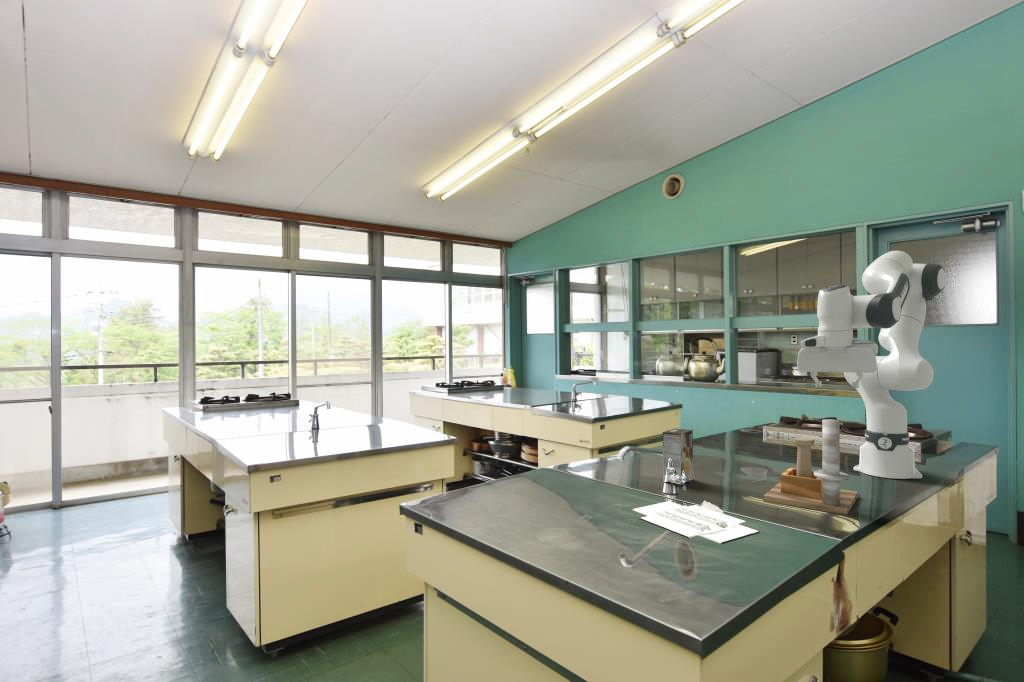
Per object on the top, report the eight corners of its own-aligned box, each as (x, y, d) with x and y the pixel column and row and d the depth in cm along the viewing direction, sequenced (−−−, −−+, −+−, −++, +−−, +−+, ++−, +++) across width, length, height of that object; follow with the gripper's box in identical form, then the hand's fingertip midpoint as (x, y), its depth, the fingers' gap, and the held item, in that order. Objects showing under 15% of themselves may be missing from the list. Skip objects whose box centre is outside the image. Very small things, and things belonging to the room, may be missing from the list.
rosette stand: (781, 485, 167) (780, 409, 167) (857, 497, 155) (857, 414, 155) (762, 501, 151) (762, 417, 151) (846, 516, 139) (846, 423, 138)
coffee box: (674, 476, 179) (674, 427, 179) (693, 479, 175) (693, 429, 175) (662, 482, 172) (662, 431, 172) (681, 485, 168) (681, 433, 168)
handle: (790, 491, 156) (790, 438, 156) (800, 487, 160) (800, 436, 160) (808, 495, 152) (807, 441, 152) (818, 491, 156) (817, 438, 156)
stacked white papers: (711, 550, 119) (710, 533, 119) (622, 519, 143) (622, 504, 143) (768, 532, 129) (768, 516, 129) (677, 506, 153) (677, 493, 153)
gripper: (879, 339, 155) (880, 387, 156) (799, 340, 168) (801, 385, 169) (876, 340, 150) (878, 390, 151) (794, 341, 163) (796, 387, 164)
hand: (836, 387), depth 160 cm, fingers open, 8 cm apart
